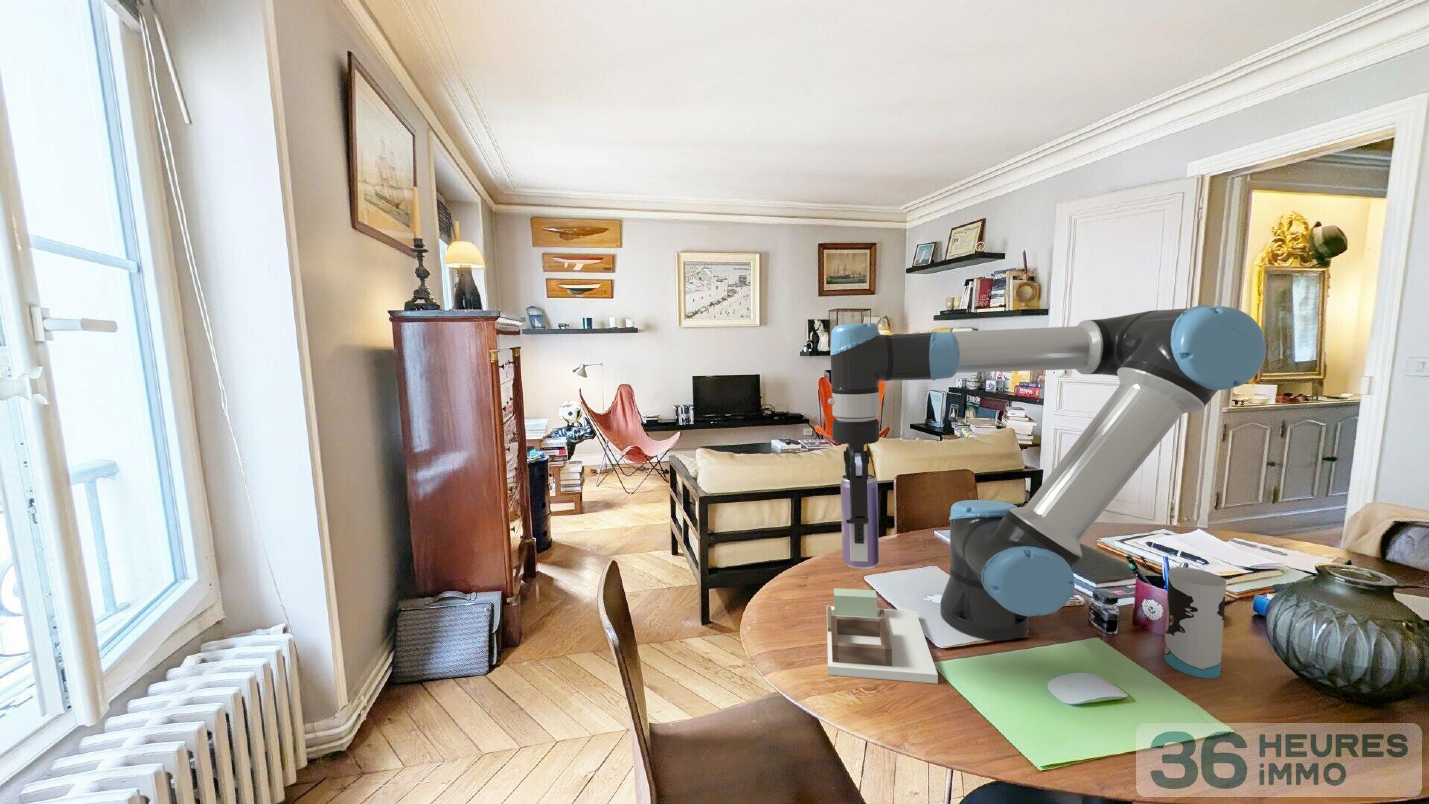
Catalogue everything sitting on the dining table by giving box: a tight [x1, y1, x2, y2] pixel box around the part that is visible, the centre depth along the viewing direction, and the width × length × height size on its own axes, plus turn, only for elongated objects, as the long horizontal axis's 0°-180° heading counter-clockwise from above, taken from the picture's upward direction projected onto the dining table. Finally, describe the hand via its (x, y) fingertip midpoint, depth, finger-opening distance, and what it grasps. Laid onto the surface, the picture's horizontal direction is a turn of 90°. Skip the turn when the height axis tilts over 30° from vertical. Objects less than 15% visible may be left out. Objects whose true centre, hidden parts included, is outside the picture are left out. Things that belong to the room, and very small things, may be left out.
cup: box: [1163, 566, 1227, 679], centre depth 83 cm, size 7×7×15 cm
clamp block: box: [833, 587, 878, 617], centre depth 102 cm, size 8×3×4 cm, turn 78°
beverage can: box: [840, 473, 880, 570], centre depth 88 cm, size 6×6×15 cm
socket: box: [831, 616, 892, 667], centre depth 91 cm, size 10×10×3 cm
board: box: [826, 605, 939, 684], centre depth 94 cm, size 17×20×2 cm
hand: (857, 552), depth 89 cm, fingers closed on beverage can, 6 cm apart
